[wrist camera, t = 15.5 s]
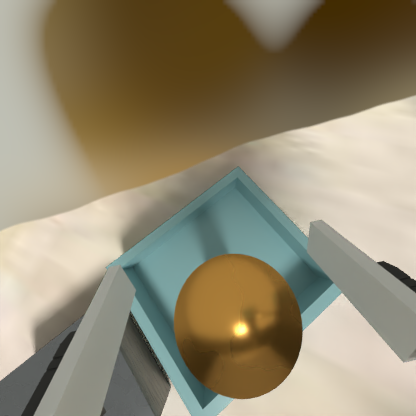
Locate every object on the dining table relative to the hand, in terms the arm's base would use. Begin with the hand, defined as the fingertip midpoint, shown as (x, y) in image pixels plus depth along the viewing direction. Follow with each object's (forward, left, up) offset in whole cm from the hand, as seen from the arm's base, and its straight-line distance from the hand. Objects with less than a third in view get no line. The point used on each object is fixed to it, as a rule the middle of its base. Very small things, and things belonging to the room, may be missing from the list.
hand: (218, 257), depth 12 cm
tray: (+1, +2, -10) cm, 10 cm away
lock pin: (+1, +2, -9) cm, 9 cm away
